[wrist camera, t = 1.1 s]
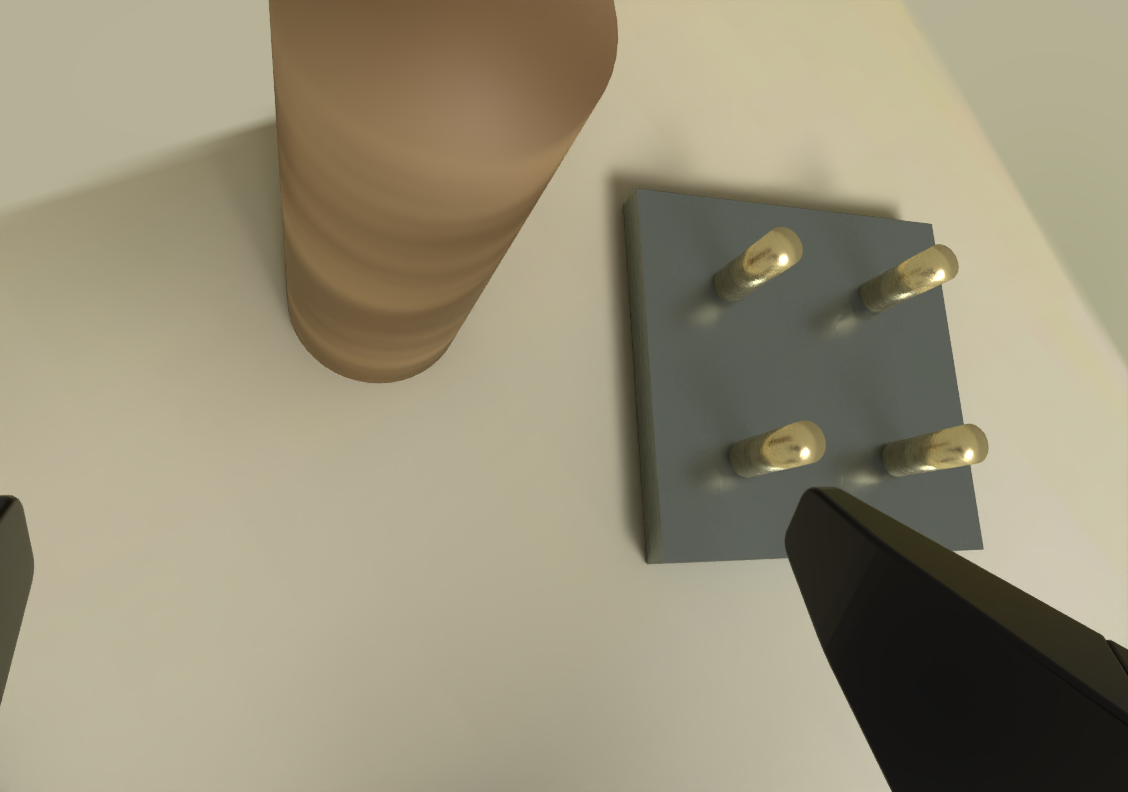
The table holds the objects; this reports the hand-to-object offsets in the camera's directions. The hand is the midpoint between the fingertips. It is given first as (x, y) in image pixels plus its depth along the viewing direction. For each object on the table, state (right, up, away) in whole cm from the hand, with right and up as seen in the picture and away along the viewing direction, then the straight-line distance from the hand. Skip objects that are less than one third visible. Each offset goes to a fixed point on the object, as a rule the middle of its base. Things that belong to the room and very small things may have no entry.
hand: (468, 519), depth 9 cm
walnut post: (-5, +4, +14) cm, 15 cm away
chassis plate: (+9, +2, +18) cm, 20 cm away
